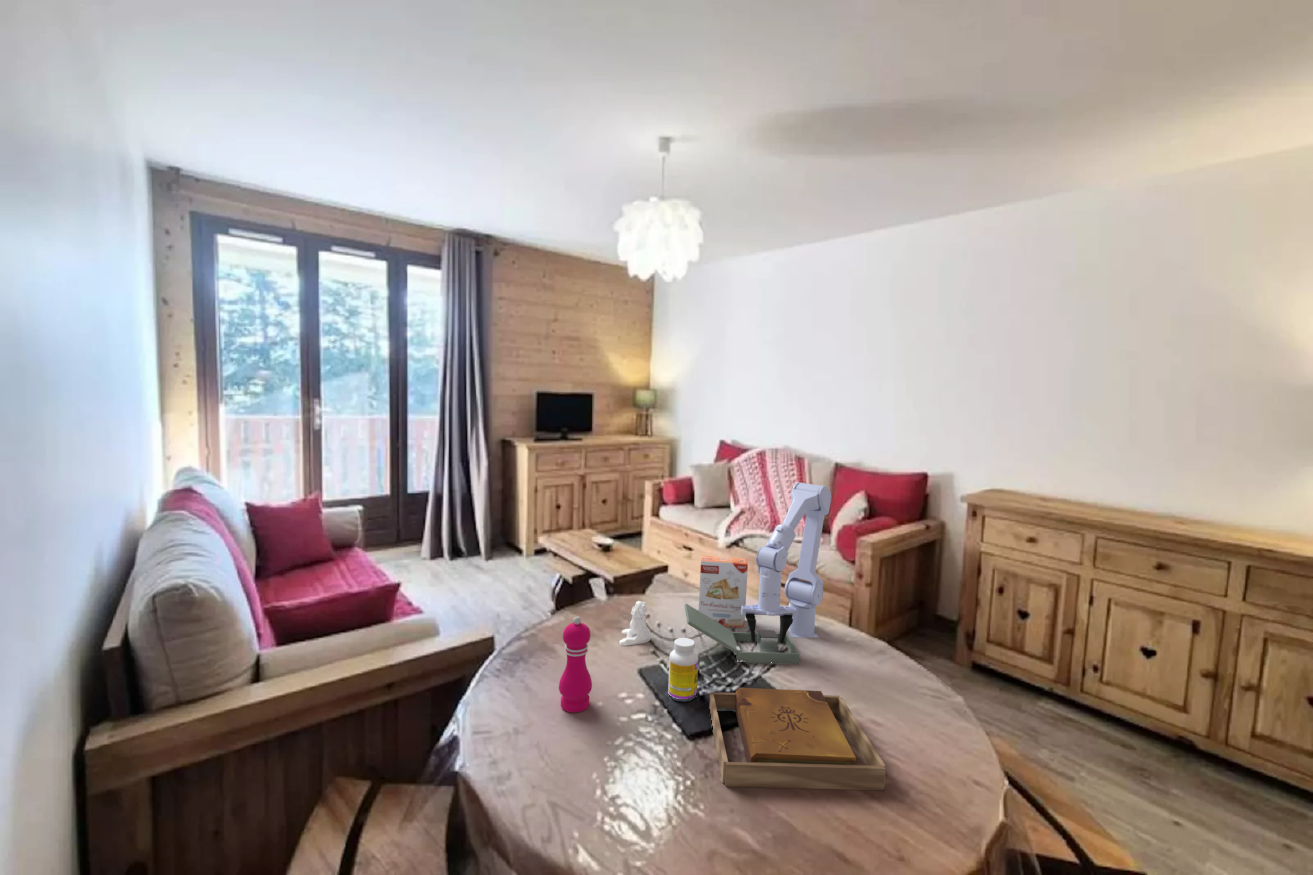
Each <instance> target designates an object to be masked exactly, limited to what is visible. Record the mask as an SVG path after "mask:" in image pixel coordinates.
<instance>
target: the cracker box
mask: <svg viewBox="0 0 1313 875" xmlns="http://www.w3.org/2000/svg"><path fill="white" fill-rule="evenodd" d="M700 557H701V558H700V573H699V591H698V592H699V593H698V594H699V595H698V611H699V612H701V613H703V614H704V615H706V616H708V617H709V618H711V619H713V620H714V621H716V622H718V623H719V624H721V625H723V626H724V627H729V628H730V627H732V628H733V627H734V628H745V624H746V623H745V622H746V617H745V615H742V614H741V606H747V604H746V603H747V589H748V586H747V585H748V571H749V570H748V568H749V567H748V566H749V565H748V564H749V563H748V559H747V558H737V557H725V556H724V557H723V556H722V557H721V556H709V555H701V556H700Z"/></svg>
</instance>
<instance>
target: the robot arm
mask: <svg viewBox="0 0 1313 875" xmlns="http://www.w3.org/2000/svg"><path fill="white" fill-rule="evenodd" d="M790 499H791V504H790V506H789V508H788V511H787V513H786V515H785V517H784V520H783V522H782V523H781V524H778V525H776V527H775V528H774V530H773V532H772V534H771V535H770V537H769V538H768V541H767V543H766V544H765V545H763V546H762V547H760V548H759V549H758V551H757V553H756V557H755V564H756V566H757V573H758V574H759V578H758V579H759V581H758V599H757V600H758V601H757V602H758V603H757V604H752V605H751V604H750V605H746V606H741V614H742V615H745V620H746V622H747V625H748V627H749V628H748V629H749V632H750V634H751V641H752V642H751V643H756V642H755V633H756V627H757V618H756V616H771V617H775V616H779V632H778V633H779V641H780V642H779V643H780V644H784V643H785V642H784V639H785V636H786V634H788V631H789V636H790V638H791V637H792V638H817V639H818V638H819V635H818V634H817V633H815V628H816V627H815V624H816V608H817V607H818V606H819V605H820V604H821V603H822V602H823V598H824V588H823V587H824V580H823V578H821V577H820V576H819V574H818V573H817V571H816V570H817V564H818V563H817V562H818V557H819V552H820V550H819V549H820V544H821V540H822V539H821V538H822V534H823V526H824V520H825V516H828V515H829V512H830V508H831V502H832V493H831V490H830V488H829V486H828V485H821V484H820V485H819V484H812V483H807V482H806V483H805V482H801V481H798V482H796V483H795V484H794V485H793V487H792V489H791V492H790ZM804 516H806V517H805V521H804V522H805V523H804V526H803V527H804V528H803V534H802V540H801V545H800V546H801V547H800V553H799V559H798V565H797V569H795V570H793V571H791V572H790V573H789V574H788V577H787V580H786V583H785V584H784V595H785V597H786V598H787V599H788V600H787V601H788V606H783V605H781V591H782V589H781V588H782V574H783V573H782V572H783V570H784V569H785V567H786V565H787V563H788V562H787V561H788V558H789V549H790V548H791V546H792V544H793V542H794V540H795V539H796V532H795V530H796V528H797V527H798V525H799V523H800V522H801V520H803V517H804Z"/></svg>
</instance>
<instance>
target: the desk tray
mask: <svg viewBox="0 0 1313 875" xmlns="http://www.w3.org/2000/svg"><path fill="white" fill-rule="evenodd" d="M710 692H711V691H710ZM823 696H824V698H825V699H826V701H827V703H828V705H829V707H830V709H831V711H832V713H833V715H834V716H835V715H836V716H837V717H838V719H839V721H840V722H841V724H842V726H843V727H844V729H845V731H846V732H847V734H848V736H849V737H850V739H851V741H852V742H853V744H854V745H855V747H856V749H857V751H858V752H859V754H860V756H861V759H862V760H863V761H864V763H865V764H866V765H865V764H864V765H861V764H859V765H858V764H851V765H830V764H790V763H749V762H747V761H746V762H745V761H743V762H739V761H738V762H737V761H729V760H728V755H727V751H726V746H725V742H724V741H725V740H724V736H723V732H722V728H721V724H720V718H719V714H718V713H719V712H717V708H726V709H728V708H729V709H735V705H736V692H714V691H713V692H711V693H710V694H709V703H708V704H709V706H708V710H709V709H710V714H711V719H710V721H711V720H712V724H711V727H712V726H713V730H712V733H713V739H714V744H715V746H714V747H715V751H716V755H717V761H718V768H719V772H720V777H721V782H722V784H724V785H725V787H726V788H727V787H728V788H729V787H732V788H734V787H735V788H768V789H770V788H774V789H778V788H779V789H809V790H810V789H815V790H817V789H818V790H850V791H851V790H854V791H855V790H856V791H858V790H859V791H863V790H864V791H885V783H886V767H887V766H886V764H885V763H884V761H883V760H882V758H881V756H880V755H879V753H878V751H877V750H876V749H875V747H874V745H873V743H872V742H871V741H870V739H869V738H868V736H867V734H866V732H864V730H863V728H862V726H861V724H859V722H858V721H857V718H856V717H855V716H854V714H853V712H852V711H851V709H850V708H849V707H848V705H847V703H846V701H845V700H844V699H843V697H840V695H826V694H825V695H824V694H823ZM710 714H709V715H710Z"/></svg>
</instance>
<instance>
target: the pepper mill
mask: <svg viewBox="0 0 1313 875" xmlns="http://www.w3.org/2000/svg"><path fill="white" fill-rule="evenodd" d="M591 636H592V635H591V629H590V628H589V627H588V625H587V624H586V623H584V622H582V618H581V617H580V616H575V617H573V619H572V622H571V623H569V624H567V625H566V627H565V628H564V630H563V633H562V640H563V642H564V643H565V645H564V653H565V654H566V664H565V668H564V670H563V672H562V675H561V677H560V679H559V682H558V690H559V693H560V694H561V697H560V707H561V709H562V710H563V711H565V712H568V713H580V712H583V711H585V710H587V709H588V708H589V706H590V695H589V694H590V692H592V690H593V682H592V681H593V680H592V677H591V675H590V672H589V669H588V667H587V663H586V662H587V661H586V655H587V653H588V652H589V649H588V648H589V645H588V643H589V642H590V639H591Z"/></svg>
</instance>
